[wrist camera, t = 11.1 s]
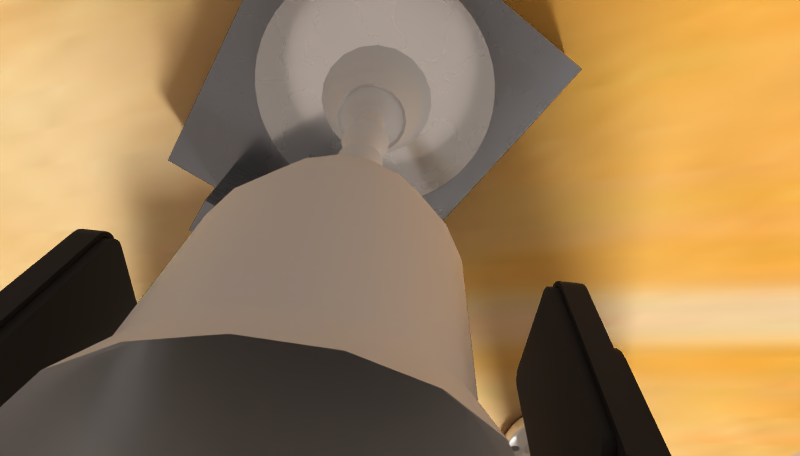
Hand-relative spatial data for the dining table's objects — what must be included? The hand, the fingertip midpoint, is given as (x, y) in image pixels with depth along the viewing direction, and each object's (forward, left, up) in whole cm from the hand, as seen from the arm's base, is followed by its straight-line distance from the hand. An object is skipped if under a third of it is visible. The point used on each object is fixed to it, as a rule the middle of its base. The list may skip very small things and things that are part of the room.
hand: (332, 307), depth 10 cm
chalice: (0, 0, -14) cm, 14 cm away
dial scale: (-1, +1, -17) cm, 17 cm away
